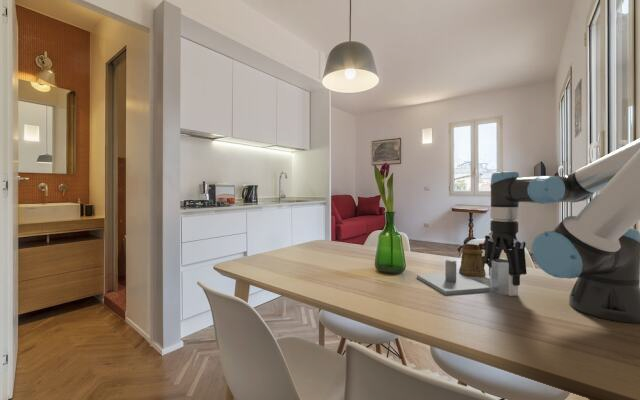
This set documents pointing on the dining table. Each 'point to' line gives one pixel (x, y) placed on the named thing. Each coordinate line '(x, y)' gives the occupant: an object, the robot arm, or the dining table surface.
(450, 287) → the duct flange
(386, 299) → the dining table surface
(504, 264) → the sleeve
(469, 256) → the wooden mug
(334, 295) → the dining table surface
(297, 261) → the dining table surface
